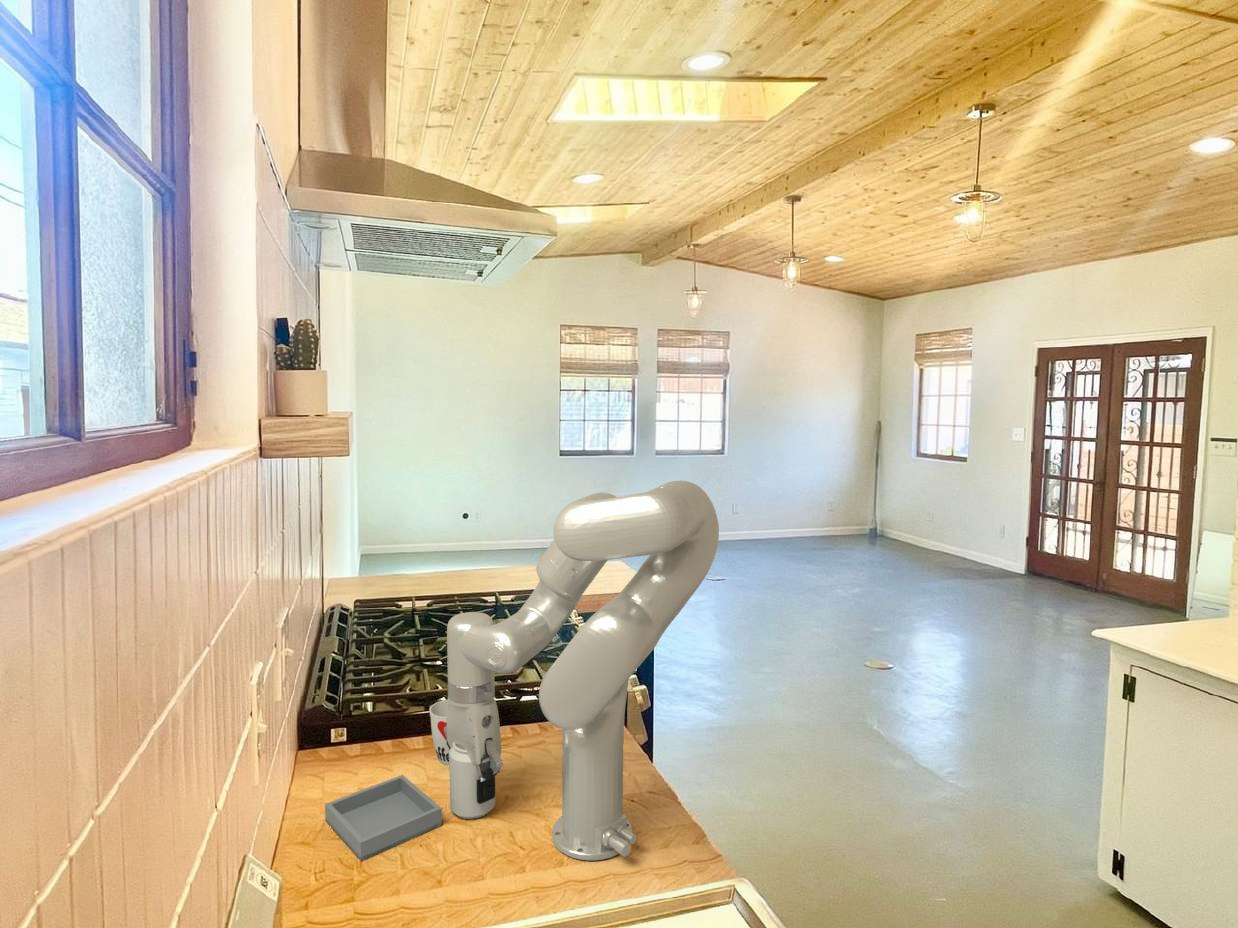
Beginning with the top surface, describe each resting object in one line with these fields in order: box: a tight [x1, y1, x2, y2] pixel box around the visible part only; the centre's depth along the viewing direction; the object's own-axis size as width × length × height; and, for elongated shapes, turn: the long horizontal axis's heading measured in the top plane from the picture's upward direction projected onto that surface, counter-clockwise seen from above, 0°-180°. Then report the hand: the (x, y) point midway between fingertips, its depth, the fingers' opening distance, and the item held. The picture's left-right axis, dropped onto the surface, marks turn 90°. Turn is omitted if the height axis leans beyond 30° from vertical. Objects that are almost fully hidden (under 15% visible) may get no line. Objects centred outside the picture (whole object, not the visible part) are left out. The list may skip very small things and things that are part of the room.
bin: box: [324, 774, 443, 862], centre depth 121 cm, size 14×14×3 cm
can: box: [448, 742, 496, 820], centre depth 125 cm, size 8×8×12 cm
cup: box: [429, 698, 450, 766], centre depth 142 cm, size 8×8×10 cm
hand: (472, 789), depth 125 cm, fingers closed on can, 7 cm apart
